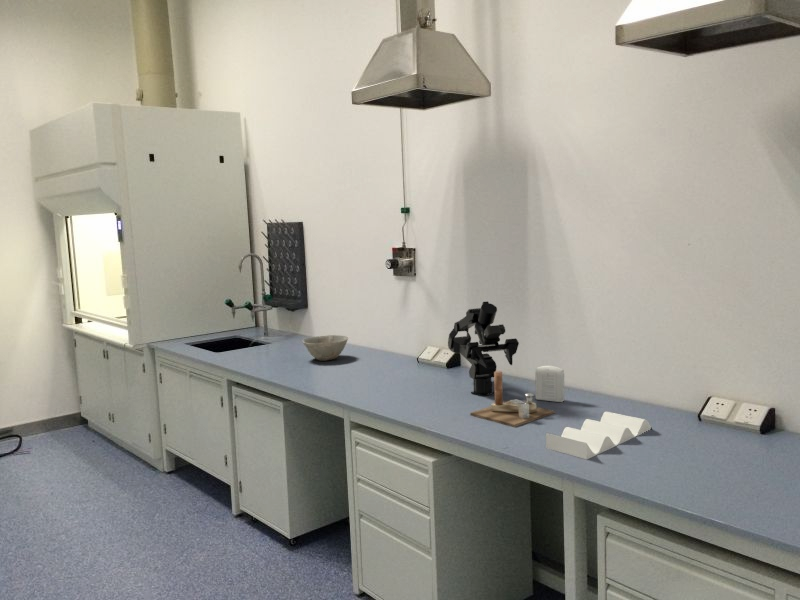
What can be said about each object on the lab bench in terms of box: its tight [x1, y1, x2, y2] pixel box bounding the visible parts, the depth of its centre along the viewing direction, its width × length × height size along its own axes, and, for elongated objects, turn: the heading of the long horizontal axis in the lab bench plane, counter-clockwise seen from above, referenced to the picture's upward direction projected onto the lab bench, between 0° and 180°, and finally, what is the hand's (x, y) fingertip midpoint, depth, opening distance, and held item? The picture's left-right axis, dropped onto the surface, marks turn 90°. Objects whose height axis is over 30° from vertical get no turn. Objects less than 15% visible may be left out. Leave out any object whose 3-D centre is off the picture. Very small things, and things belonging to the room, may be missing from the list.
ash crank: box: [490, 370, 537, 413], centre depth 221 cm, size 15×4×13 cm, turn 76°
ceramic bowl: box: [301, 334, 349, 362], centre depth 324 cm, size 22×23×10 cm
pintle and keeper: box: [509, 392, 534, 419], centre depth 217 cm, size 8×7×6 cm
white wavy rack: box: [545, 411, 653, 460], centre depth 194 cm, size 13×35×5 cm, turn 131°
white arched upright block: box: [535, 365, 565, 403], centre depth 236 cm, size 10×4×12 cm, turn 60°
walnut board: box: [469, 400, 555, 428], centre depth 221 cm, size 19×20×1 cm
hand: (499, 365), depth 230 cm, fingers open, 9 cm apart
